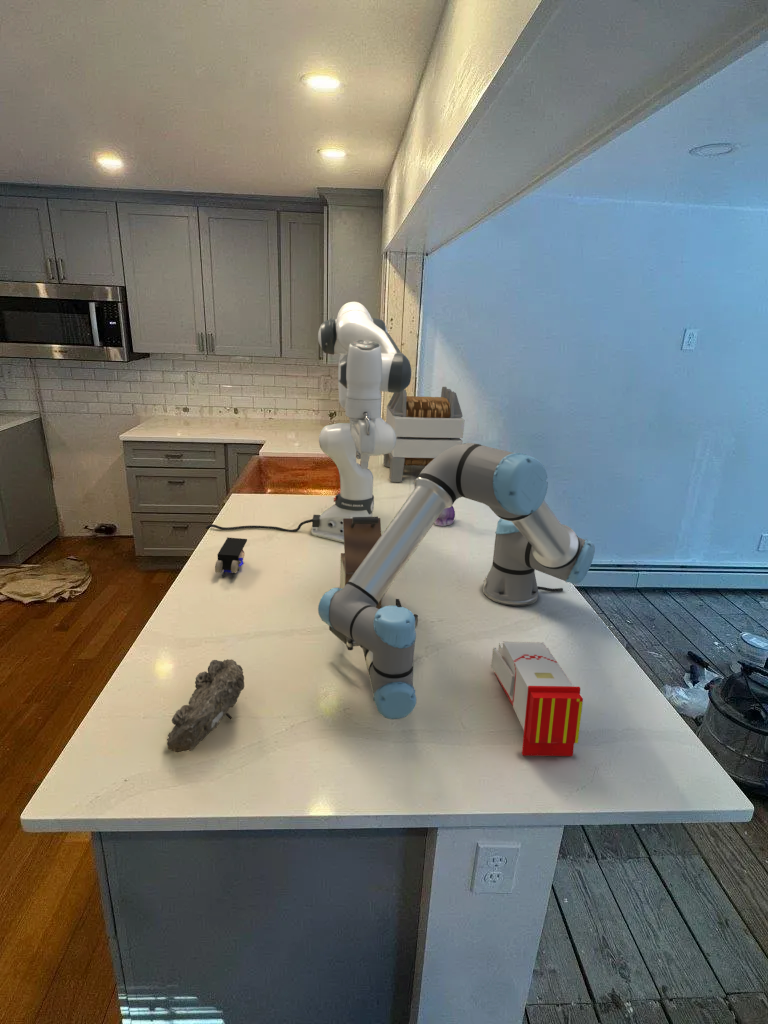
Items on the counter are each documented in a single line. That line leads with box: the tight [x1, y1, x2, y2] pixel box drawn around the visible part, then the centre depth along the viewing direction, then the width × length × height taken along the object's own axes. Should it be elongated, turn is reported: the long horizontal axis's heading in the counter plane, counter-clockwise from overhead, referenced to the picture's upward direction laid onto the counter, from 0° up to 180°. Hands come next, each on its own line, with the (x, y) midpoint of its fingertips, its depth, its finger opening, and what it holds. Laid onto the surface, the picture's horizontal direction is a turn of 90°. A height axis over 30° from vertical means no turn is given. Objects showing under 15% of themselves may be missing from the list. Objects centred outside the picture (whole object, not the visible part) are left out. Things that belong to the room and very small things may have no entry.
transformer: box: [383, 386, 465, 483], centre depth 268 cm, size 34×33×41 cm
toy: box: [490, 641, 584, 757], centre depth 113 cm, size 12×13×30 cm
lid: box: [343, 516, 382, 572], centre depth 142 cm, size 14×10×8 cm
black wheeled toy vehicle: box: [214, 537, 248, 578], centre depth 166 cm, size 7×8×15 cm
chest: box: [339, 552, 383, 609], centre depth 152 cm, size 13×10×11 cm
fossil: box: [166, 658, 245, 754], centre depth 106 cm, size 22×10×15 cm
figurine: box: [434, 505, 456, 527], centre depth 210 cm, size 9×10×15 cm
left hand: (361, 463), depth 145 cm, fingers open, 8 cm apart
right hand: (369, 605), depth 135 cm, fingers open, 13 cm apart
